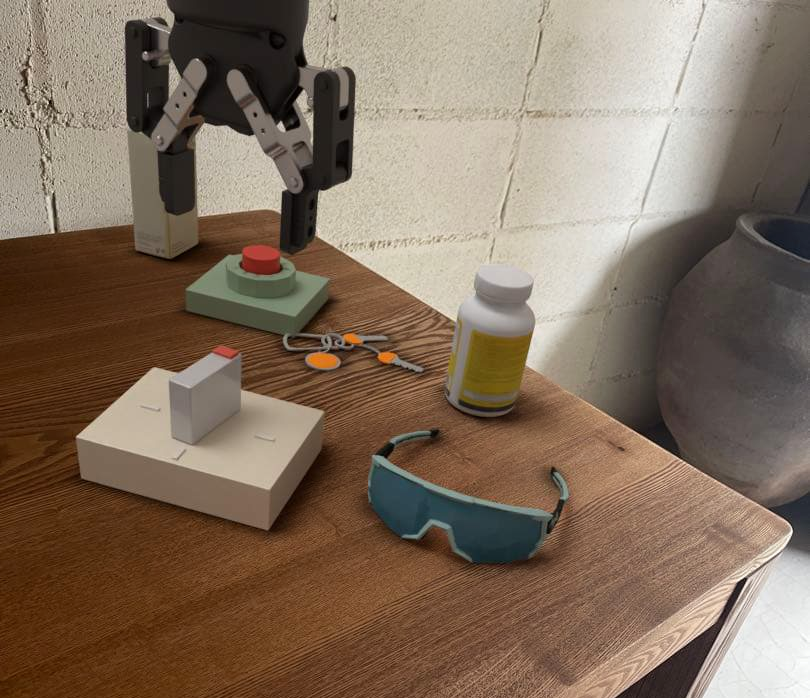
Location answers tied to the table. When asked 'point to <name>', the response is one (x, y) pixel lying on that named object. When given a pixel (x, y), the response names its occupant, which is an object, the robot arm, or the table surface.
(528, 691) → the table surface
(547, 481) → the table surface
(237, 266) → the button box
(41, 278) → the table surface
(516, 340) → the pill bottle
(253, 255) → the button
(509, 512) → the sunglasses
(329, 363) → the key chain
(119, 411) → the base
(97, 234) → the table surface
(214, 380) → the grey flat block
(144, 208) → the cosmetic box
